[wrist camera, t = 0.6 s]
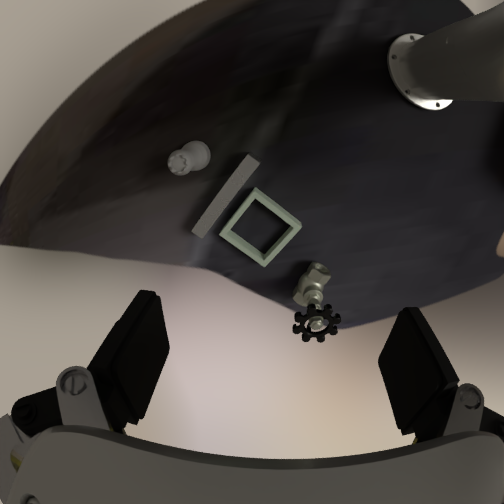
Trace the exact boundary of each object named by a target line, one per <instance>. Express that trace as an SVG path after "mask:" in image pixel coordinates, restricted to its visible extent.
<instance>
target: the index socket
mask: <svg viewBox="0 0 504 504" xmlns="http://www.w3.org/2000/svg"><path fill="white" fill-rule="evenodd" d="M254 199H257V200H258V201H259V202H261V203H262V204H263V205H265V206H266V207H267V208H269V209H270V210H271V211H273V212H274V213H275V214H276V215H278V216H279V217H280V218H282V219H283V220H284V221H285V222H287V223H288V224H289V225H291V226H290V227H289V228H288V229H287V231H286V232H285V233H284V234H283V235H282V236H281V237H280V238H279V239H278V240H277V242H276V243H275V244H274V245H273V246H272V247H271V248H270V249H269V250H268V251H267V253H266V254H265V255H264V254H263V253H261V252H260V251H259V250H257V249H256V248H255V247H253V246H252V245H250V244H249V243H248V242H246V241H245V240H243V239H242V238H241V237H239V236H238V235H237V234H235V233H234V232H232V231H231V230H230V229H231V228H232V226H233V225H234V224H235V223H236V221H237V220H238V219H239V218H240V216H241V215H242V214H243V213H244V211H245V210H246V209H247V208H248V207H249V205H250V204H251V203H252V202H253V200H254ZM301 228H302V226H301V222H300V221H298V220H297V219H296V218H295V217H293V216H292V215H291V214H290V213H288V212H287V211H286V210H284V209H283V208H282V207H281V206H279V205H278V204H277V203H276V202H274V201H273V200H272V199H270V198H269V197H268V196H266V195H265V194H264V193H262V192H261V191H260V190H259V189H257V188H256V187H255V188H254V189H253V191H252V192H251V193H250V194H249V196H248V197H247V198H246V199H245V201H244V202H243V203H242V204H241V206H240V207H239V208H238V209H237V211H236V212H235V213H234V214H233V216H232V217H231V218H230V220H229V221H228V222H227V223H226V225H225V226H224V227H223V229H222V230H221V232H220V234H219V235H220V236H221V237H223V238H224V239H226V240H227V241H228V242H230V243H231V244H233V245H234V246H235V247H237V248H238V249H240V250H241V251H242V252H244V253H245V254H247V255H248V256H250V257H251V258H252V259H254V260H255V261H257V262H258V263H259V264H261V265H262V266H264V267H265V266H266V265H267V264H268V263H269V262H270V261H271V260H272V259H273V258H274V257H275V256H276V255H277V254H278V252H279V251H280V250H281V249H282V248H283V247H284V246H285V245H286V244H287V243H288V242H289V241H290V240H291V239H292V237H293V236H294V235H295V234H296V233H297V232H298V231H299V230H300V229H301Z"/></svg>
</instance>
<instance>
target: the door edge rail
mask: <svg viewBox="0 0 504 504" xmlns="http://www.w3.org/2000/svg"><path fill="white" fill-rule="evenodd" d="M261 161H262V160H261V159H259V158H258V157H257V156H255V155H254V154H253V153H251V152H250V153H249V154H248V155H247V156H246V157H245V159H244V160H243V161H242V162H241V164H240V165H239V166H238V168H237V169H236V170H235V172H234V173H233V174H232V175H231V177H230V178H229V179H228V181H227V182H226V183H225V185H224V186H223V188H222V189H221V190H220V192H219V193H218V194H217V196H216V197H215V198H214V200H213V201H212V203H211V204H210V205H209V207H208V208H207V209H206V211H205V212H204V214H203V215H202V216H201V218H200V219H199V221H198V222H197V224H196V225H195V226H194V228H193V229H192V232H193V233H194V234H196V235H197V236H199V237H200V238H201V239H203V237H204V236H205V234H206V233H207V232H208V230H209V229H210V228H211V226H212V225H213V224H214V222H215V221H216V220H217V218H218V217H219V216H220V214H221V213H222V212H223V210H224V209H225V208H226V206H227V205H228V204H229V202H230V201H231V200H232V199H233V197H234V196H235V195H236V193H237V192H238V191H239V190H240V188H241V187H242V186H243V184H244V183H245V182H246V181H247V179H248V178H249V177H250V176H251V174H252V173H253V172H254V170H255V169H256V168H257V167H258V165H259V164H260V163H261Z"/></svg>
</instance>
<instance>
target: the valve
mask: <svg viewBox="0 0 504 504" xmlns="http://www.w3.org/2000/svg"><path fill="white" fill-rule="evenodd" d="M330 277H331V273H330V271H329V270H328V268H327V267H325V266H324V265H322V264H321V263H318V262H311V264H310V265H309V267H308V269H307V272H306V273H304V274H303V275H302V276H301V277H300V279H299V281H298V285H297V286H296V287H295V289H294V290H293V292H292V297H293V299H294V300H295V301H296V302H297V303H298V304H300V305H301V306H307V314H305V315H304V316H303V315H301V312H296V313H295V316H294V317H295V321H296V322H298V323H300V325H299V326H296V324H294V325H293V333H295V334H299V333H300V332H302V333H303V334H302V340H303V341H304V342H308V341H309V340H310V338H312V337H316V338H317V341H318V342H320V343H321V342H323V341H325V335H326V334H327V333H330V335H336V334H337V333H338V331H337V326H334V327H333V325H334V324H339V323H340V322H341V317H340V314H338V313H336V314H335V316H334V317H332V316H331V314H332V312H333V311H332V306H331V305H330V304H326V305H324V310H323V311H322V310H321V305H320V302H321V301H322V299H323V295H322V290H323V288H324V284H326V283H327V281H328V280H329V279H330ZM308 319H309V323H308V325H307V328H305V326H304V324H305V322H306V321H307V320H308ZM323 319H327V320H328V322H329V324H328V326H327V327H326V328H325V329H323V330H322V331H319V332H312V331H311V328H312V329H314V330H316V329H320V328H321V327H322V326H323Z"/></svg>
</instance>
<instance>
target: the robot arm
mask: <svg viewBox="0 0 504 504" xmlns="http://www.w3.org/2000/svg"><path fill="white" fill-rule="evenodd" d="M392 57H393V59H392ZM387 65H388V70H389V73H390V77H391V79H392V81H393V83H394V85H395V86H396V88H397V89H398V91H399V92H400V93H401V94H402V95H403V96H404V97H405V98H406V99H407V100H408V101H409V102H411V103H412V104H414V105H415V106H417V107H420V108H422V109H426V110H441V109H443V108H445V107H447V106H448V105H449V104H450V103H451V102H452V101H453V100H478V101H497V102H504V2H502V3H500V4H499V5H497V6H495V7H493V8H491V9H489V10H487V11H485V12H482V13H479V14H477V15H474V16H472V17H469V18H467V19H464V20H461V21H459V22H456V23H454V24H451V25H449V26H446V27H444V28H441V29H439V30H437V31H435V32H432V33H430V34H428V35H426V36H423V35H419V34H412V33H411V34H405V35H402V36H400V37H398V38H397V39H395V40H394V41H393V42H392V44H391V45H390V47H389V50H388V54H387ZM405 91H406V92H407V93H406V92H405ZM169 349H170V346H169V341H168V336H167V331H166V327H165V321H164V315H163V311H162V304H161V299H160V296H157V295H156V293H155V292H154V291H148V290H140V291H139V292H138V293H137V295H136V296H135V298H134V299H133V301H132V302H131V303H130V305H129V306H128V308H127V309H126V311H125V312H124V314H123V315H122V317H121V318H120V320H118V321H117V322H116V323H115V325H114V326H113V328H112V329H111V331H110V332H109V334H108V335H107V337H106V338H105V340H104V342H103V343H102V345H101V346H100V348H99V349H98V351H97V352H96V354H95V356H94V357H93V359H92V361H91V362H90V364H89V365H88V367H87V369H86V368H84V367H81V366H73V367H69V368H67V369H65V370H64V371H63V372H61V374H60V375H59V376H58V378H57V381H56V387H53V388H50V389H47V390H44V391H41V392H38V393H35V394H32V395H29V396H26V397H23V398H20V399H18V401H16V402H15V404H14V405H13V407H12V411H11V415H10V416H9V415H8V414H6V415H4V416H3V417H2V418H0V499H1V501H2V503H3V504H504V417H503V416H501V415H500V414H498V413H496V412H494V411H492V410H490V409H488V408H487V407H485V406H484V397H483V394H482V392H481V391H480V390H479V389H478V388H477V387H476V386H474V385H473V384H469V383H465V384H462V385H461V386H460V387H458V385H457V383H458V382H459V381H460V380H459V378H458V376H457V374H456V372H455V370H454V368H453V367H452V365H451V363H450V361H449V359H448V357H447V355H446V354H445V352H444V350H443V348H442V346H441V344H440V343H439V341H438V339H437V338H436V336H435V334H434V332H433V331H432V329H431V327H430V326H429V324H428V322H427V321H426V319H425V317H424V316H423V314H422V313H421V311H420V309H419V308H417V307H405V308H404V309H403V310H402V311H400V312H399V314H398V316H397V319H396V321H395V324H394V326H393V328H392V330H391V332H390V335H389V337H388V339H387V341H386V343H385V345H384V348H383V350H382V352H381V354H380V356H379V359H378V365H379V368H380V371H381V374H382V377H383V380H384V383H385V387H386V390H387V393H388V396H389V400H390V403H391V407H392V410H393V414H394V417H395V421H396V425H397V427H398V429H401V433H402V435H407V434H411V433H415V436H416V437H415V439H414V441H413V443H412V445H407V446H403V447H399V448H394V449H389V450H384V451H378V452H372V453H366V454H360V455H351V456H342V457H331V458H315V459H262V458H245V457H235V456H225V455H217V454H210V453H203V452H197V451H192V450H186V449H181V448H176V447H172V446H167V445H162V444H158V443H154V442H150V441H146V440H142V439H139V438H135V437H132V436H128V435H127V434H126V432H125V430H124V428H125V427H126V424H127V422H128V423H131V424H135V425H137V424H138V421H139V419H143V418H144V416H145V413H146V411H147V408H148V405H149V403H150V400H151V397H152V395H153V392H154V389H155V387H156V384H157V382H158V379H159V377H160V374H161V371H162V369H163V366H164V364H165V361H166V359H167V356H168V354H169Z"/></svg>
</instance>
